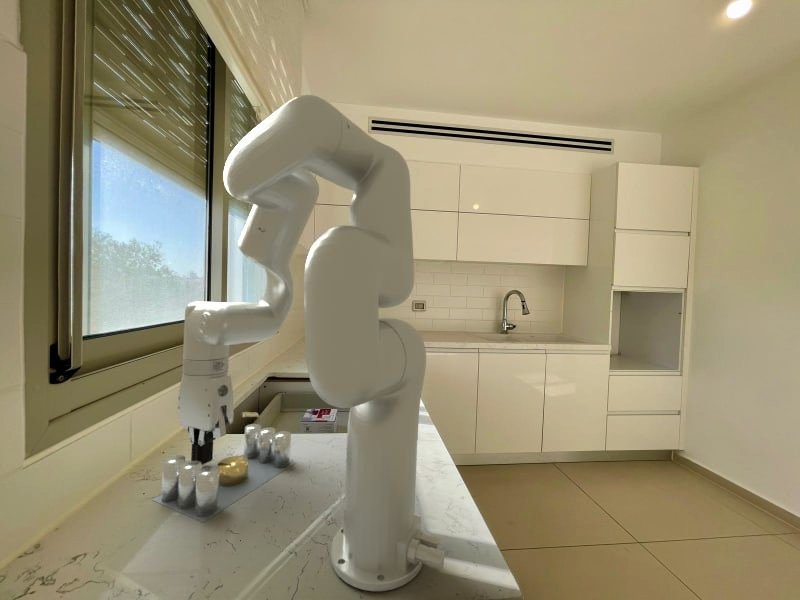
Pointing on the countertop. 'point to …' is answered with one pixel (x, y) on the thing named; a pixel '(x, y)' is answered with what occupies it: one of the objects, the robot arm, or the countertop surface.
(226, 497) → the plate
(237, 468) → the gold rounded lump
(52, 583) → the countertop surface
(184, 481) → the steel spacers
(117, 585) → the countertop surface
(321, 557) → the countertop surface
